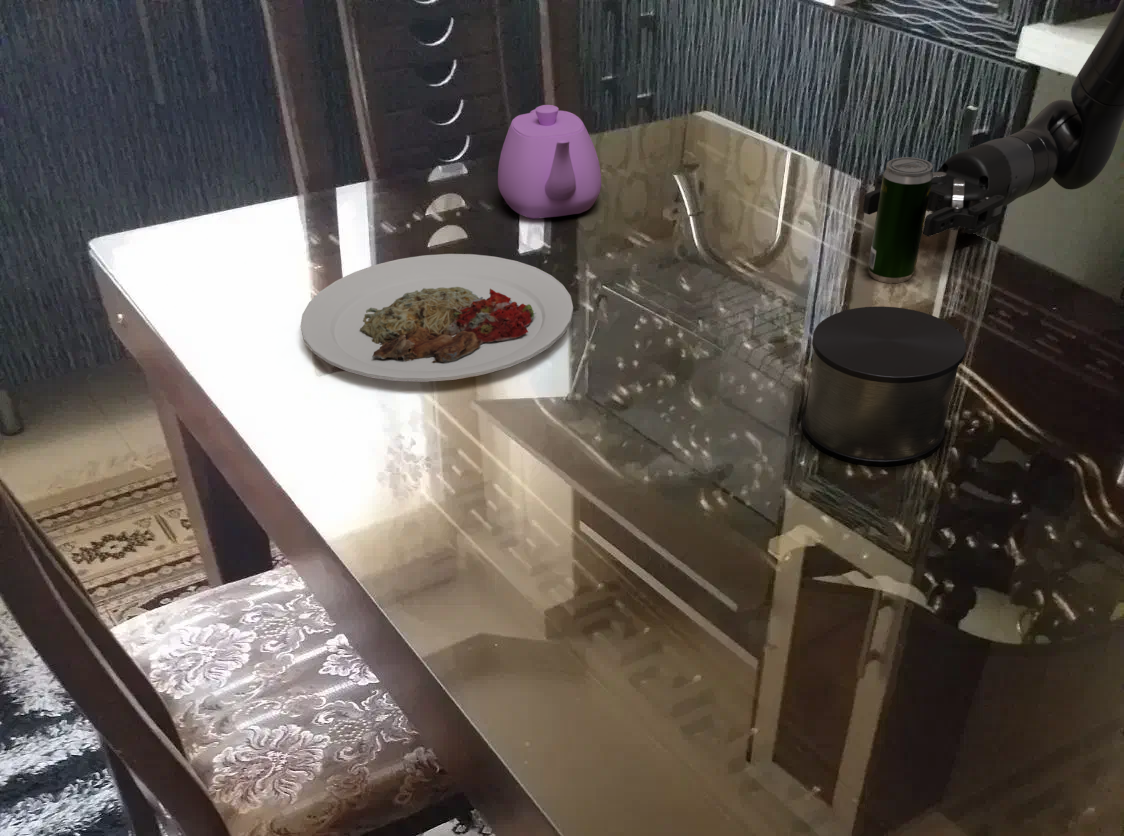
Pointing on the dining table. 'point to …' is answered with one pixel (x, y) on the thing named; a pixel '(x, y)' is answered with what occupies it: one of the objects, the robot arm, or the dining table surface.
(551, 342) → the plated food
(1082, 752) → the dining table surface
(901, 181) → the beer can
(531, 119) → the teapot
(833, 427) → the steel bin
